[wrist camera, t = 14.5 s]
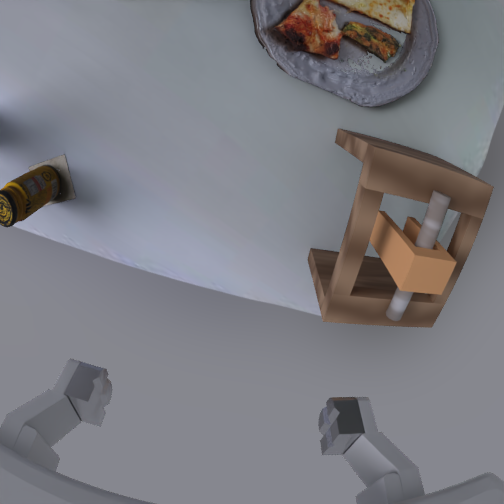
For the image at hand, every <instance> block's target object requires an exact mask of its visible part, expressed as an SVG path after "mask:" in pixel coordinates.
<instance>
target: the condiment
mask: <svg viewBox="0 0 504 504" xmlns="http://www.w3.org/2000/svg"><path fill="white" fill-rule="evenodd" d="M57 169H59V170H60V171H59V170H57ZM29 171H30V172H28V173H25V174H23V175H22V176H20V177H18V178H16V179H14V180H12V181H11V182H9V183H7V184H6V185H5V186H4V188H2V189H1V190H0V224H1V225H2V226H4V227H10V226H12V225H14V224H15V223H16V222H18V221H22V220H25V219H26V218H27V217H29V216H30V215H31V214H33V213H34V212H36V211H37V210H38V209H40V208H41V207H43V206H47V205H50V204H54V203H58V202H62V201H66V200H71V199H75V198H76V197H75V194H74V189H73V185H72V181H71V177H70V173H69V170H68V166H67V162H66V159H65V154H64V155H61V156H58V157H55V158H53V159H50V160H47V161H44V162H41V163H39V164H36V165H33V166H31V167H29ZM60 193H61V194H60Z"/></svg>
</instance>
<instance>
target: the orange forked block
mask: <svg viewBox="0 0 504 504" xmlns="http://www.w3.org/2000/svg"><path fill="white" fill-rule="evenodd" d="M421 226H422V225H421V224H420V223H419V222H418V221H417V220H416V219H415V218H412V217H408V218H407V221H406V224H405V227H404V230H403V232H402V230H401V229H400V228H399V227H398V226H397V225H396V224H395V222H394V221H393V220H392V219H391V218H390V217H389V216H388V215H387V214H386V212H385V211H380V210H379V211H378V215H377V218H376V221H375V224H374V228H373V231H372V234H371V237H370V240H369V241H370V242H371V244H372V245H373V247H374V248H375V250H376V252H377V253H378V255H379V256H380V258H381V260H382V261H383V263H384V264H385V266H386V268H387V269H388V271H389V273H390V274H391V276H392V278H393V279H394V281H395V283H396V284H397V286H398V288H399V290H400V291H408V292H418V293H428V294H439V295H442V293H443V291H444V289H445V286H446V284H447V282H448V280H449V278H450V276H451V274H452V272H453V270H454V267H455V265H456V263H457V262H456V261H455V260H454V259H453V257H452V256H451V255H450V254H449V253H448V252H447V251H446V250H445V249H444V248H443V247H442V246H441V245H440V243H439V242H438V241H437V240H436V242H435V244H434V247H433V249H427V248H422V247H416V246H414V245H415V243H416V240H417V237H418V235H419V232H420V229H421Z"/></svg>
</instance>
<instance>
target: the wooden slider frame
mask: <svg viewBox="0 0 504 504" xmlns="http://www.w3.org/2000/svg"><path fill="white" fill-rule="evenodd" d="M335 143H336V144H338V145H339V146H341V147H342V148H344V149H345V150H346V151H348V152H349V153H351V154H352V155H353V156H355V157H356V158H358V159H359V160H360V161H362V162H363V168H362V172H361V176H360V180H359V184H358V188H357V192H356V195H355V199H354V203H353V207H352V210H351V214H350V218H349V221H348V225H347V228H346V232H345V235H344V239H343V242H342V245H341V249H340V252H334V251H327V250H320V249H312V248H311V249H310V253H309V257H308V263H309V267H310V271H311V275H312V278H313V282H314V286H315V290H316V294H317V298H318V303H319V307H320V311H321V315H322V319H323V322H335V323H349V324H365V325H383V326H403V327H432V326H433V324H434V323H435V321H436V319H437V317H438V316H439V314H440V312H441V310H442V308H443V306H444V305H445V302H446V301H447V299H448V297H449V295H450V293H451V291H452V289H453V287H454V285H455V283H456V281H457V279H458V277H459V275H460V272H461V270H462V268H463V266H464V264H465V261H466V259H467V257H468V255H469V252H470V250H471V248H472V245H473V243H474V241H475V238H476V236H477V233H478V230H479V228H480V225H481V223H482V220H483V217H484V214H485V211H486V209H487V206H488V203H489V200H490V197H491V194H492V191H493V188H494V187H493V186H491V185H489V184H488V183H486V182H484V181H482V180H481V179H479V178H477V177H475V176H473V175H472V174H470V173H468V172H466V171H464V170H462V169H460V168H458V167H456V166H454V165H452V164H450V163H448V162H446V161H444V160H442V159H440V158H438V157H436V156H433V155H430V154H427V153H424V152H421V151H418V150H415V149H412V148H409V147H406V146H402V145H399V144H396V143H392V142H389V141H385V140H382V139H378V138H375V137H371V136H367V135H363V134H359V133H355V132H351V131H347V130H343V129H338V131H337V136H336V141H335ZM384 193H388V194H392V195H397V196H401V197H405V198H409V199H413V200H417V201H421V202H425V203H429V206H428V209H427V212H426V215H425V218H424V221H423V223H422V226H421V229H420V232H419V235H418V237H417V240H416V243H415V245H414V246H416V247H422V248H427V249H433V247H434V244H435V242H436V239H437V236H438V234H439V231H440V228H441V226H442V223H443V220H444V217H445V214H446V212H447V209H451V210H454V211H458V212H461V215H460V218H459V221H458V224H457V226H456V229H455V232H454V234H453V237H452V239H451V242H450V245H449V247H448V249H447V252H448V253H449V254H450V255H451V256H452V257H453V259H454V260H455V261H456V262H457V263H456V265H455V267H454V270H453V272H452V274H451V276H450V278H449V280H448V282H447V284H446V286H445V289H444V291H443V293H442V295H439V294H425V293H418V292H408V291H400V290H399V288H398V286H397V284H396V283H395V281H394V279H393V278H392V276H391V274H390V273H389V271H388V269H387V268H386V266H385V264H384V263H383V261H382V260H381V258H376V257H369V256H364V255H365V252H366V249H367V246H368V243H369V240H370V237H371V234H372V231H373V228H374V224H375V221H376V218H377V215H378V211H379V208H380V205H381V201H382V198H383V194H384Z"/></svg>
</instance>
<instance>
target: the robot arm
mask: <svg viewBox="0 0 504 504" xmlns="http://www.w3.org/2000/svg"><path fill="white" fill-rule="evenodd" d="M107 376H108V372H107V369H105V368H101V367H98V366H94V365H91V364H87V363H83V362H81V361H77V360H74V359H69V360H68V361H67V362H66V364H65V366H64V368H63V370H62V372H61V374H60V375H59V377H58V379H57V381H56V383H55V385H54V387H53V389H52V390H50V389H48V390H47V391H45V392H43V393H42V394H40V395H38V396H37V397H35V398H33V399H32V400H30V401H28V402H27V403H25V404H23V405H22V406H20V407H18V408H17V409H15V410H13V411H12V412H10V413H8V414H7V415H6V418H5V419H4V421H3V424H2V425H1V428H0V504H155V503H150V502H146V501H142V500H138V499H134V498H130V497H126V496H123V495H119V494H116V493H112V492H109V491H106V490H103V489H100V488H97V487H94V486H91V485H88V484H86V483H83V482H80V481H78V480H75V479H72V478H69V477H67V476H65V475H62V474H60V473H58V472H56V469H57V466H58V463H59V460H60V458H59V456H58V455H57V454H56V453H55V452H54V450H53V449H52V448H51V447H52V446H53V445H54V444H55V443H57V442H58V441H59V440H60V439H62V438H63V437H64V436H65V435H66V434H68V433H69V432H70V431H71V430H72V429H74V428H75V427H76V426H77V425H78V424H80V423H81V421H84V422H86V423H90V424H93V425H97V426H101V424H102V422H103V419H104V416H105V410H104V407H105V406H106V405H108V404H109V402H110V399H111V395H112V384H111V381H110V380H108V378H107ZM326 405H327V407H325V408H323V409H322V411H321V413H320V416H319V431H320V432H321V433H322V434H323V435H324V436H323V437H322V439H321V440H320V442H321V450H322V455H341V454H343V457H344V458H345V459H346V461H347V462H348V463H349V464H350V466H351V467H352V468H353V470H354V471H355V472H356V474H357V475H358V476H359V478H360V479H361V480H362V481H363V483H364V484H365V485H366V486H367V488H366V489H365V490H364V491H362V492H360V493H359V494H358V495H357V496H356V502H357V504H504V481H502V480H501V479H500V478H499V477H497V476H496V475H494V474H493V473H490V472H489V473H488V472H487V473H484V474H482V475H479V476H477V477H474V478H472V479H469V480H467V481H464V482H462V483H459V484H456V485H454V486H451V487H448V488H445V489H442V490H439V491H435V492H432V493H429V494H426V495H425V494H424V489H423V485H422V481H421V477H420V473H419V469H418V467H417V466H416V465H415V464H414V463H413V462H412V461H411V460H410V459H409V458H408V457H407V456H406V455H405V454H403V452H401V451H400V450H399V449H398V448H397V447H396V446H395V445H394V444H393V443H392V442H391V441H390V440H389V439H388V438H387V437H386V436H385V435H384V434H383V433H382V432H378V429H377V426H376V422H375V418H374V414H373V411H372V407H371V404H370V400H369V398H368V397H343V398H342V397H337V398H329V399H328V400H327V402H326Z"/></svg>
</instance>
